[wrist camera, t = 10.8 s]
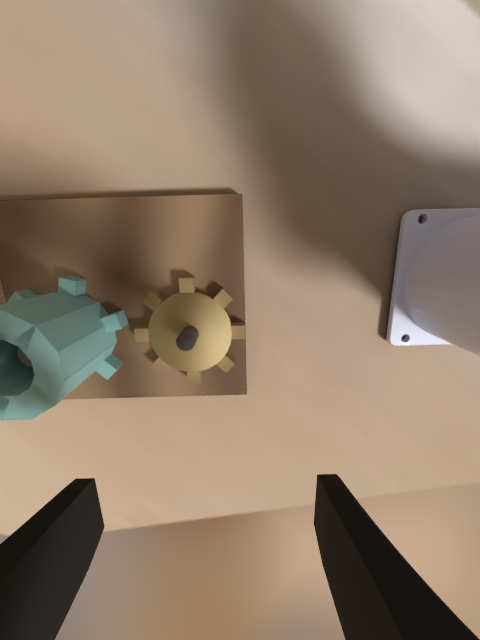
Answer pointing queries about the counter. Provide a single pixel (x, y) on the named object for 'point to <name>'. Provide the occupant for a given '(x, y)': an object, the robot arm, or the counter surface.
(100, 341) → the gear
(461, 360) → the counter surface
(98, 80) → the counter surface
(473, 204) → the counter surface
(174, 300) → the gear board
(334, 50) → the counter surface
